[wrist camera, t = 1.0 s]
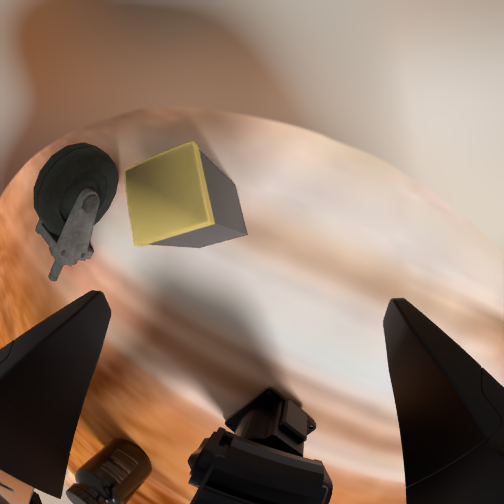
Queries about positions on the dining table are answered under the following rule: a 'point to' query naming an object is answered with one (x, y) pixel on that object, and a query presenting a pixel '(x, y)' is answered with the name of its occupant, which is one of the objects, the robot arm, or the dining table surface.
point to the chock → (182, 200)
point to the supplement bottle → (110, 475)
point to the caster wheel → (73, 201)
